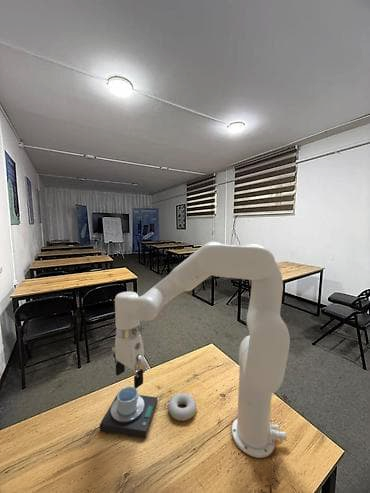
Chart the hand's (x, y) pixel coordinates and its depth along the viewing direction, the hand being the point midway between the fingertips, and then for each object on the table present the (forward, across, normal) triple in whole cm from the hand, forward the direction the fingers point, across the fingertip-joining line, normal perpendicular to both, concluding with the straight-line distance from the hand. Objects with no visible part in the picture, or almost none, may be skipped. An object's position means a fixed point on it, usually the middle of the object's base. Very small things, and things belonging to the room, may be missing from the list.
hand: (129, 379), depth 70 cm
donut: (+14, -12, -13) cm, 23 cm away
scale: (+13, 0, 0) cm, 13 cm away
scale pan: (+11, +1, 0) cm, 11 cm away
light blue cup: (+10, +1, 0) cm, 10 cm away
